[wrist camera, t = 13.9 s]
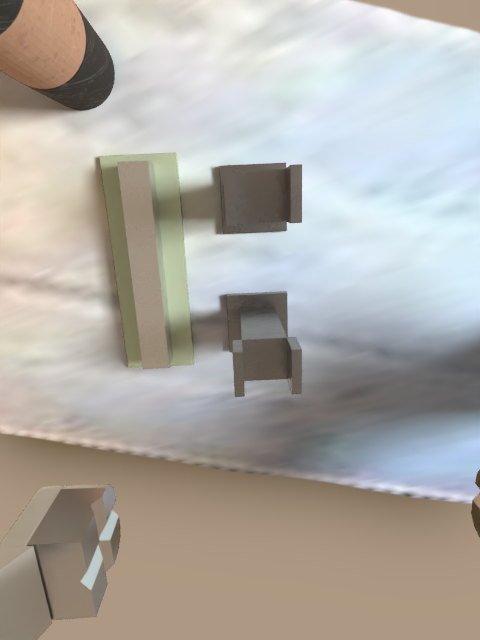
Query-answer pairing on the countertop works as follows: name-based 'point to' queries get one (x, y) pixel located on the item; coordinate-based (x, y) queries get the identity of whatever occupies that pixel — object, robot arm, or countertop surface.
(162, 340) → the rail
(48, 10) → the travel mug
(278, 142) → the countertop surface
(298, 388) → the posts
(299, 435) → the countertop surface
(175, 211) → the mat
